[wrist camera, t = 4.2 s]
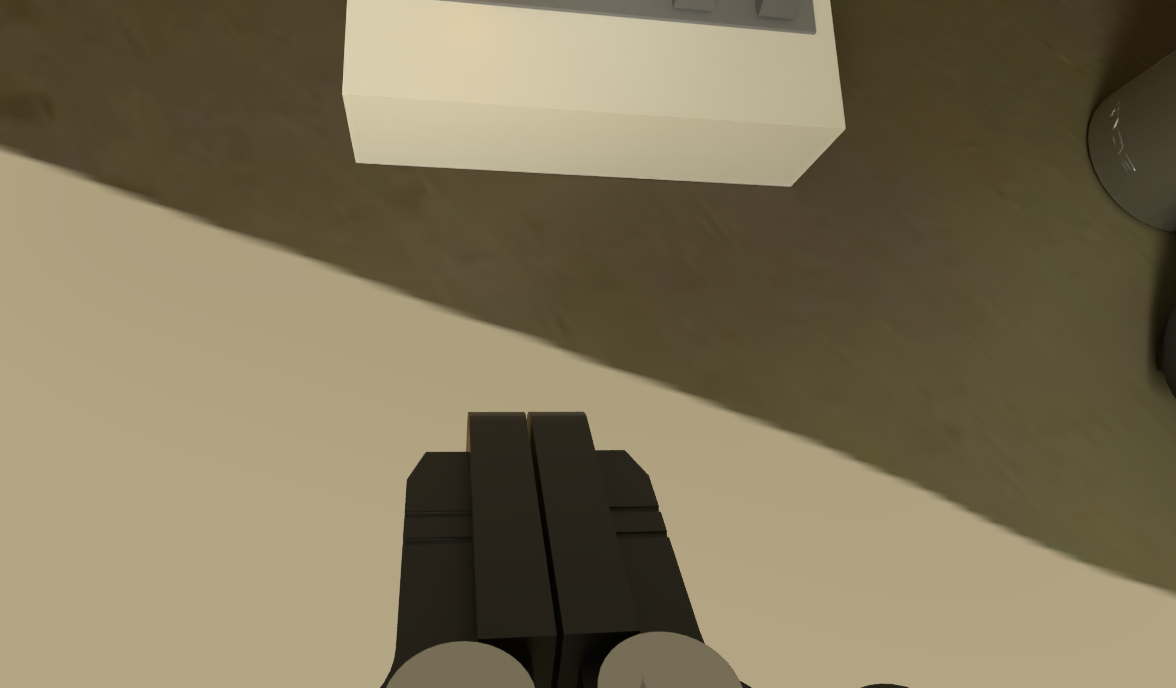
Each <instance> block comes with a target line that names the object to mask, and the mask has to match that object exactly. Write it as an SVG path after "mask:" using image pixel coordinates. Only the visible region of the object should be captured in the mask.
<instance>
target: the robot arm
mask: <svg viewBox="0 0 1176 688" xmlns="http://www.w3.org/2000/svg"><path fill="white" fill-rule="evenodd" d="M1088 143H1089V153H1090V157H1091V160H1092V163H1093V166H1094V169H1095V171H1096V173H1097V175H1098V177H1099V179H1100V181H1101V183H1102V185H1103V186H1104V188H1105V189H1106V190H1107V192H1108V193H1109V194H1110V196H1111V197H1112V198H1113V199H1114V200H1115V201H1116V202H1117V203H1118V204H1119V205H1120V206H1121V207H1122V208H1123V209H1124V210H1125V211H1126V212H1128V213H1129V214H1130V215H1132V216H1133V217H1135V218H1136V219H1138V220H1139V221H1141V222H1143V223H1145V224H1147V225H1150V226H1152V227H1154V228H1158V229H1162V230H1166V231H1174V232H1176V50H1175V51H1173V52H1172V53H1171V54H1169V55H1168V56H1166V57H1164V58H1163V59H1162V60H1160V61H1159V62H1157V63H1156V64H1154V65H1153V66H1151V67H1150V68H1149V69H1147V70H1146V71H1144V72H1143V73H1141V74H1140V75H1138V76H1137V77H1136V78H1134V79H1133V80H1131V81H1130V82H1128V83H1127V84H1125V85H1124V86H1123V87H1121V88H1120V89H1118V90H1117V91H1115V92H1114V93H1113V94H1111V95H1110V96H1109V97H1107V98H1106V99H1105V100H1103V101H1102V102H1101V103H1100V105H1099V106H1098V108H1097V109H1096V110H1095V112H1094V114H1093V117H1092V119H1091V122H1090V126H1089V134H1088ZM658 508H659V505H658V502H657V499H656V496H655V493H654V490H653V487H652V484H651V481H650V478H649V475H648V474H647V473H645V471H644V470H643V469H642V468H641V467H640V466H639V465H638V464H637V463H636V462H635V461H634V460H633V458H632V457H630V455H629V454H628V453H627V452H626V451H625V450H595V448H594V444H593V440H592V436H591V432H590V428H589V424H588V421H587V417H586V414H585V413H584V412H528V415H527V420H526V415H525V413H524V412H468V421H467V446H466V452H426V453H425V454H424V456H423V457H422V459H421V460H420V461H419V463H418V464H417V466H416V467H415V469H414V470H413V472H412V473H411V475H410V476H409V477H408V479H407V487H406V503H405V518H404V532H403V548H402V563H401V579H400V595H399V609H398V624H397V625H398V626H397V640H396V651H395V657H394V662H393V664H392V667H391V670H390V672H389V674H388V676H387V678H386V680H385V682H384V683H383V685H382V686H381V687H380V688H751V687H750V686H748V685H746V684H744V683H743V682H741V681H739V679H738V677H737V675H736V674H735V672H734V670H733V669H732V668H731V666H730V665H729V664H728V663H727V662H726V661H725V660H724V659H723V658H722V657H721V656H720V655H719V654H718V653H717V652H716V651H714V650H713V649H711V648H710V647H709V646H707V645H705V643H704V641H703V639H702V636H701V633H700V631H699V628H698V625H697V621H696V619H695V616H694V612H693V609H692V606H691V603H690V600H689V597H688V594H687V591H686V588H685V585H684V582H683V579H682V576H681V573H680V570H679V566H678V564H677V560H676V557H675V554H674V551H673V548H672V545H671V542H670V539H669V537H667V530H666V527H665V524H664V521H663V518H662V514H661V512H659V509H658ZM862 688H908V687H904V686H899V685H894V684H874V685H868V686H865V687H862Z"/></svg>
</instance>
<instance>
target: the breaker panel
mask: <svg viewBox="0 0 1176 688" xmlns="http://www.w3.org/2000/svg"><path fill="white" fill-rule="evenodd" d="M342 95H343V100H344V105H345V110H346V115H347V120H348V125H349V130H350V135H351V140H352V145H353V150H354V155H355V160H356V163H368V164H386V165H405V166H423V167H441V168H459V169H477V170H496V171H514V172H532V173H550V174H568V175H587V176H605V177H623V178H641V179H660V180H678V181H696V182H714V183H732V184H751V185H769V186H787V187H791V186H792V185H793V184H794V183H795V182H796V181H797V180H798V179H799V177H800V176H801V175H802V174H803V173H804V172H805V171H806V170H807V169H808V168H809V167H810V166H811V165H812V164H813V163H814V162H815V161H816V160H817V159H818V157H819V156H820V155H821V154H822V153H823V152H824V151H825V150H826V149H827V148H828V147H829V146H830V145H831V144H832V143H833V142H834V141H835V140H836V138H837V137H838V136H839V135H840V134H841V133H842V132H843V131H844V130H845V129H846V127H845V119H844V111H843V103H842V95H841V87H840V78H839V70H838V62H837V54H836V46H835V37H834V29H833V21H832V13H831V5H830V0H347V14H346V33H345V52H344V71H343V91H342Z"/></svg>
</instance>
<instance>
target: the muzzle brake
mask: <svg viewBox="0 0 1176 688" xmlns="http://www.w3.org/2000/svg"><path fill="white" fill-rule="evenodd" d="M1157 369H1158V370H1159V371H1162V372H1164V374H1165V378H1166V382H1167V384H1168V386H1169V388H1170V390H1171V392H1172V394H1173V396H1174V397H1175V398H1176V304H1175V306H1174V308H1173V310H1172V313H1171V315H1170V317H1169V319H1168V322H1167V326H1166V329H1165V333H1164V343H1163V344H1162V345H1161V346H1160V347H1159V348H1158V358H1157Z"/></svg>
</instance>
